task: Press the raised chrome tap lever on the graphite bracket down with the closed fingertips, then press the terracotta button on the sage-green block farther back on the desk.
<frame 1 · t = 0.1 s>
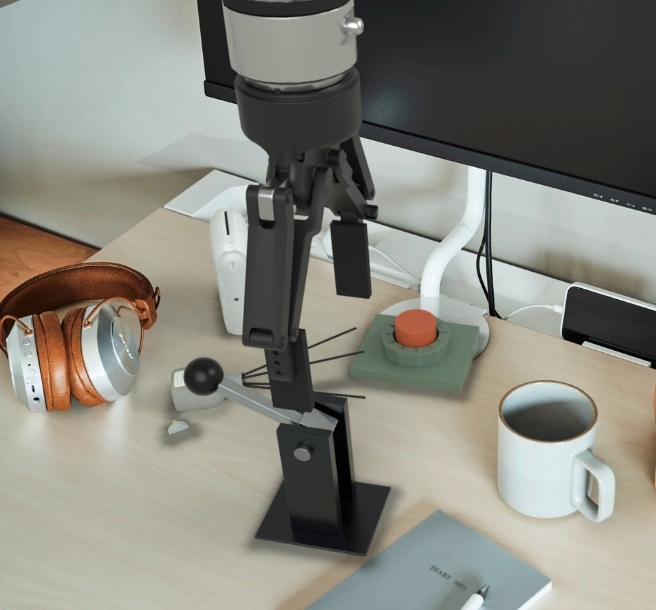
hand: (326, 346, 68), 22 cm above the table, tool pointing down, fingers open, 13 cm apart
button: (415, 328, 99), point 5 cm above the table, slide at 0.1 cm
photo printer: (242, 312, 109), on the table
reed diffuser: (271, 407, 96), on the table
button block: (417, 362, 101), on the table
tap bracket: (325, 520, 83), on the table
tap lever: (258, 402, 76), point 13 cm above the table, hinge at 25.0°
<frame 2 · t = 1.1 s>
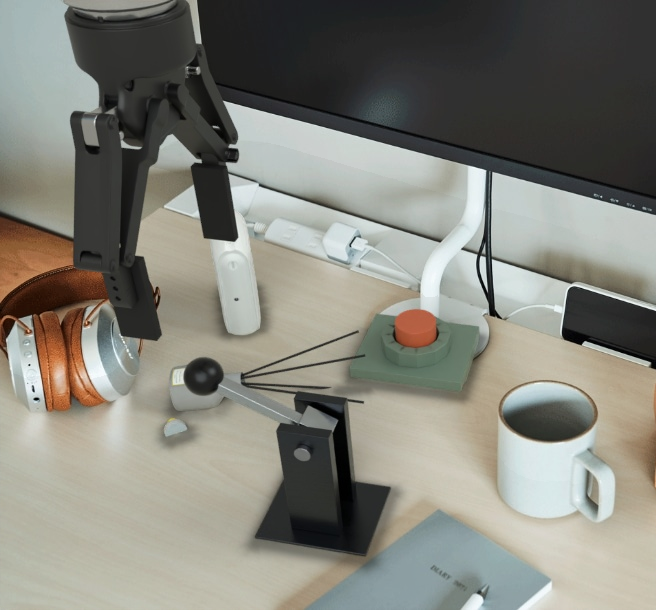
hand: (184, 283, 70), 24 cm above the table, tool pointing down, fingers open, 13 cm apart
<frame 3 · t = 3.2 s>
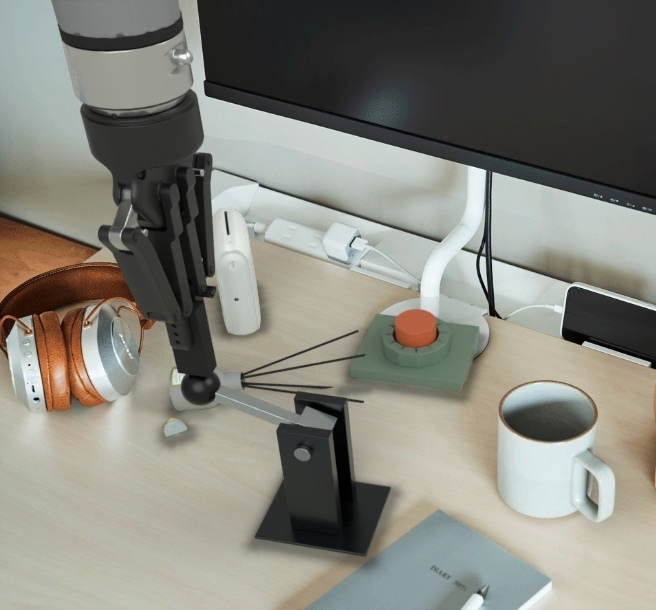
hand: (197, 369, 75), 16 cm above the table, tool pointing down, fingers closed
tap lever: (256, 407, 76), point 13 cm above the table, hinge at 17.8°, touching gripper
everything else where it was.
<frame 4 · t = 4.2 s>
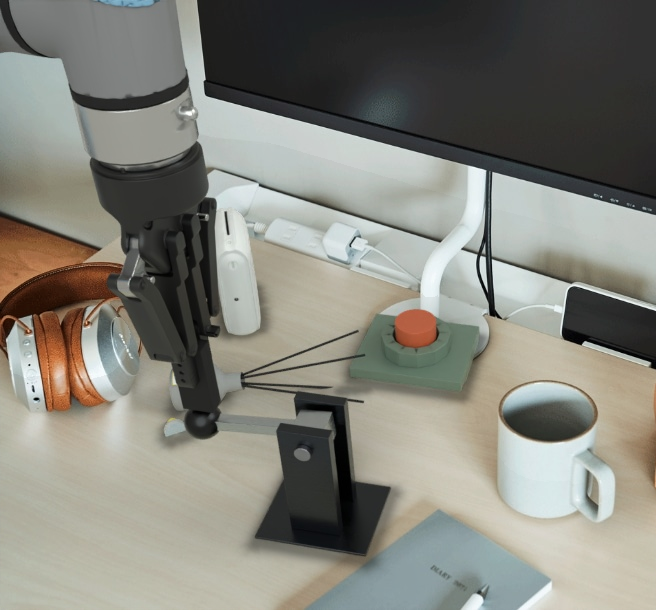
hand: (202, 404, 77), 12 cm above the table, tool pointing down, fingers closed
tap lever: (257, 425, 77), point 11 cm above the table, hinge at -4.8°, touching gripper
everything else where it was.
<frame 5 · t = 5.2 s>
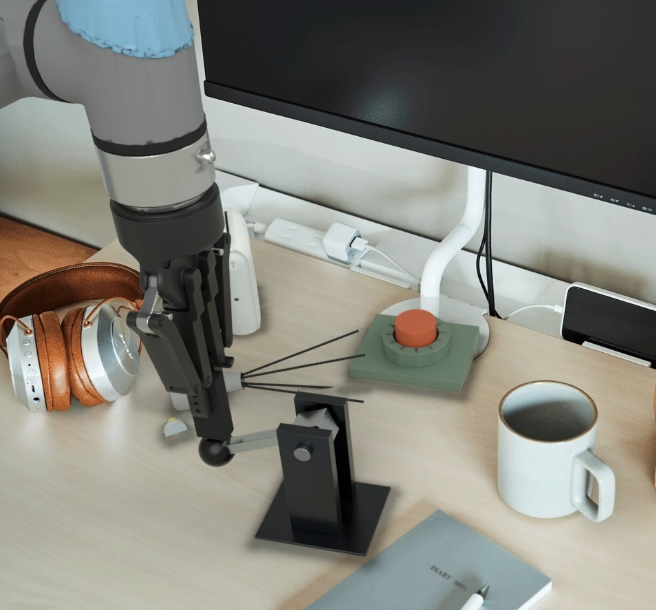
hand: (215, 432, 79), 9 cm above the table, tool pointing down, fingers closed
tap lever: (263, 439, 78), point 9 cm above the table, hinge at -23.0°, touching gripper
everything else where it was.
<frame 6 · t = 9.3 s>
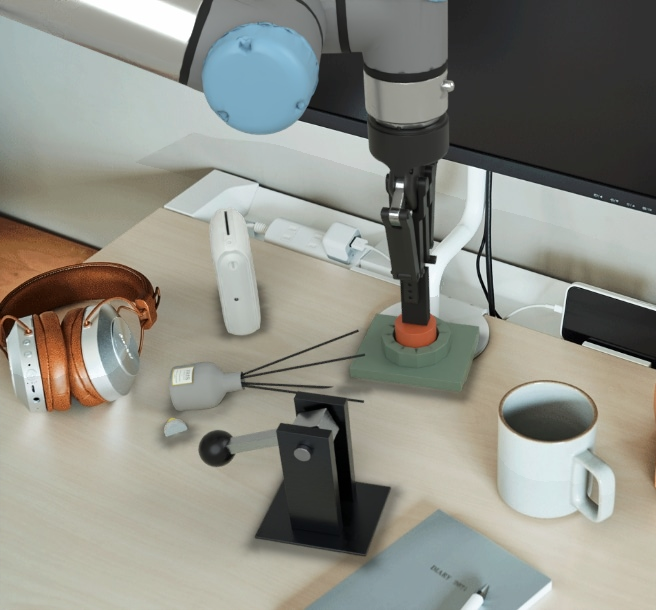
hand: (416, 319, 98), 6 cm above the table, tool pointing down, fingers closed
button: (415, 329, 99), point 4 cm above the table, slide at -0.1 cm, touching gripper
tap lever: (263, 439, 78), point 9 cm above the table, hinge at -23.1°
everything else where it was.
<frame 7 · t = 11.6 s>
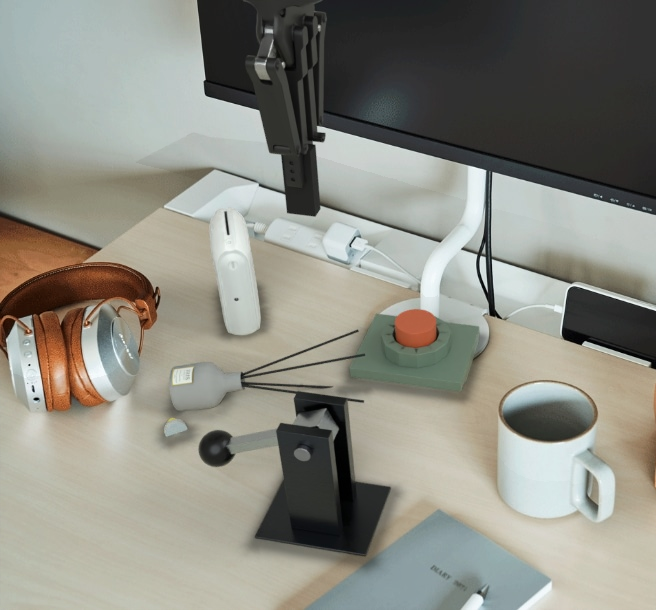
hand: (303, 210, 85), 22 cm above the table, tool pointing down, fingers closed
button: (415, 328, 99), point 5 cm above the table, slide at 0.1 cm
everything else where it was.
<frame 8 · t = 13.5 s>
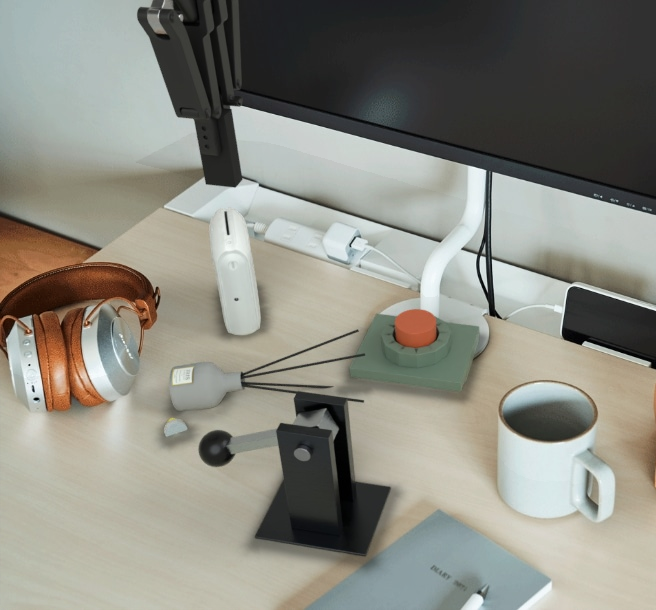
hand: (224, 181, 79), 26 cm above the table, tool pointing down, fingers closed
nothing on the table moved.
at the end: tap lever at -23° (first picture: +25°); button pushed in 1.0 cm at the most during the clip, back to where it started at the end; button slide at 0.1 cm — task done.
